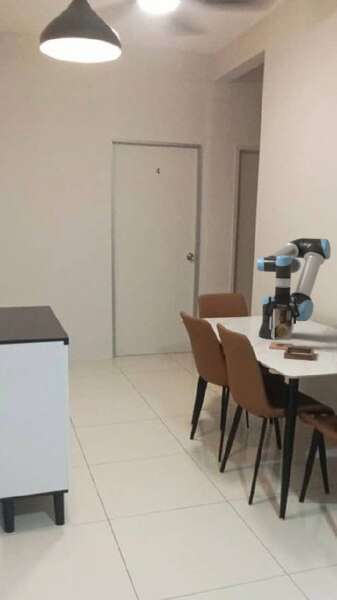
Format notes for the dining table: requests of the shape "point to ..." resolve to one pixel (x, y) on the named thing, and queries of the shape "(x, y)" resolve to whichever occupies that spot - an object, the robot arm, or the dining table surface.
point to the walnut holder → (299, 350)
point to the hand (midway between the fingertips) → (281, 329)
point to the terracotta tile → (280, 345)
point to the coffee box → (281, 323)
